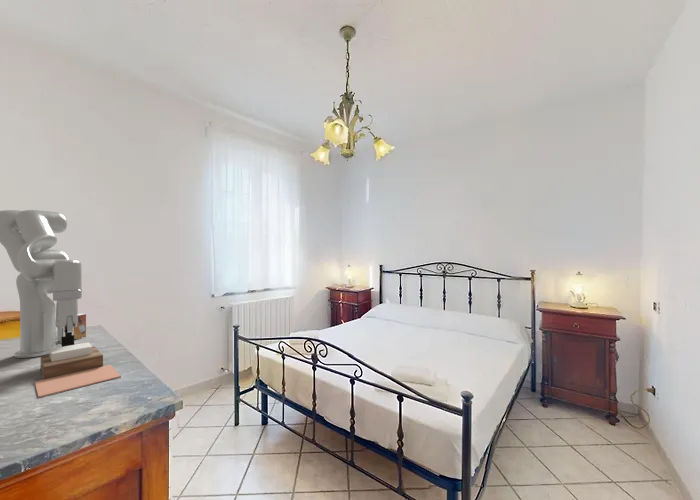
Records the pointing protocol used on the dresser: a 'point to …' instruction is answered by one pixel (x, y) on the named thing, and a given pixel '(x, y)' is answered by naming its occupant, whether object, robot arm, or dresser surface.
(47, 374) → the block
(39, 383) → the mat
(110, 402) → the dresser surface
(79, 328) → the small box
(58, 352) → the tile
